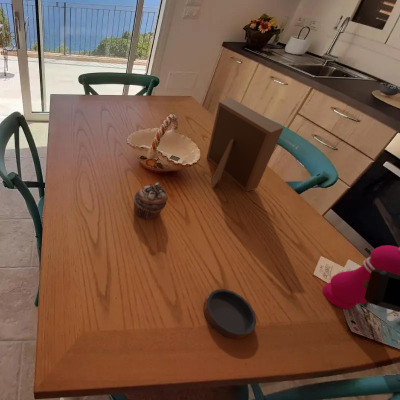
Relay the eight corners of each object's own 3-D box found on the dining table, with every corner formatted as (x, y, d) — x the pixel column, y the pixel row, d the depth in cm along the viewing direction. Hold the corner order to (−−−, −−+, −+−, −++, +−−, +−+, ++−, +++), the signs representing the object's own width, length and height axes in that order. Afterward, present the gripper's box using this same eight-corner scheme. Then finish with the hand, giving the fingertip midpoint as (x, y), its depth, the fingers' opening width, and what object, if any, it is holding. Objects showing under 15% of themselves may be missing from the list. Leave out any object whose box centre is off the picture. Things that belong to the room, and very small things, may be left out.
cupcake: (150, 197, 89) (157, 173, 83) (168, 217, 83) (177, 193, 76) (125, 204, 86) (131, 180, 79) (142, 225, 80) (149, 201, 73)
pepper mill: (313, 284, 68) (376, 234, 54) (338, 282, 69) (406, 232, 55) (335, 312, 63) (412, 264, 49) (362, 310, 64) (445, 262, 50)
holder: (260, 325, 60) (266, 321, 58) (229, 347, 56) (234, 343, 54) (224, 287, 66) (228, 282, 64) (193, 305, 62) (197, 300, 61)
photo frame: (214, 156, 110) (242, 96, 93) (255, 189, 95) (298, 125, 78) (184, 162, 106) (208, 100, 89) (222, 197, 91) (259, 131, 74)
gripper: (598, 287, 36) (460, 267, 51) (428, 245, 40) (348, 238, 55) (577, 367, 36) (445, 323, 51) (409, 317, 40) (333, 290, 55)
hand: (391, 291), depth 53 cm, fingers open, 9 cm apart
